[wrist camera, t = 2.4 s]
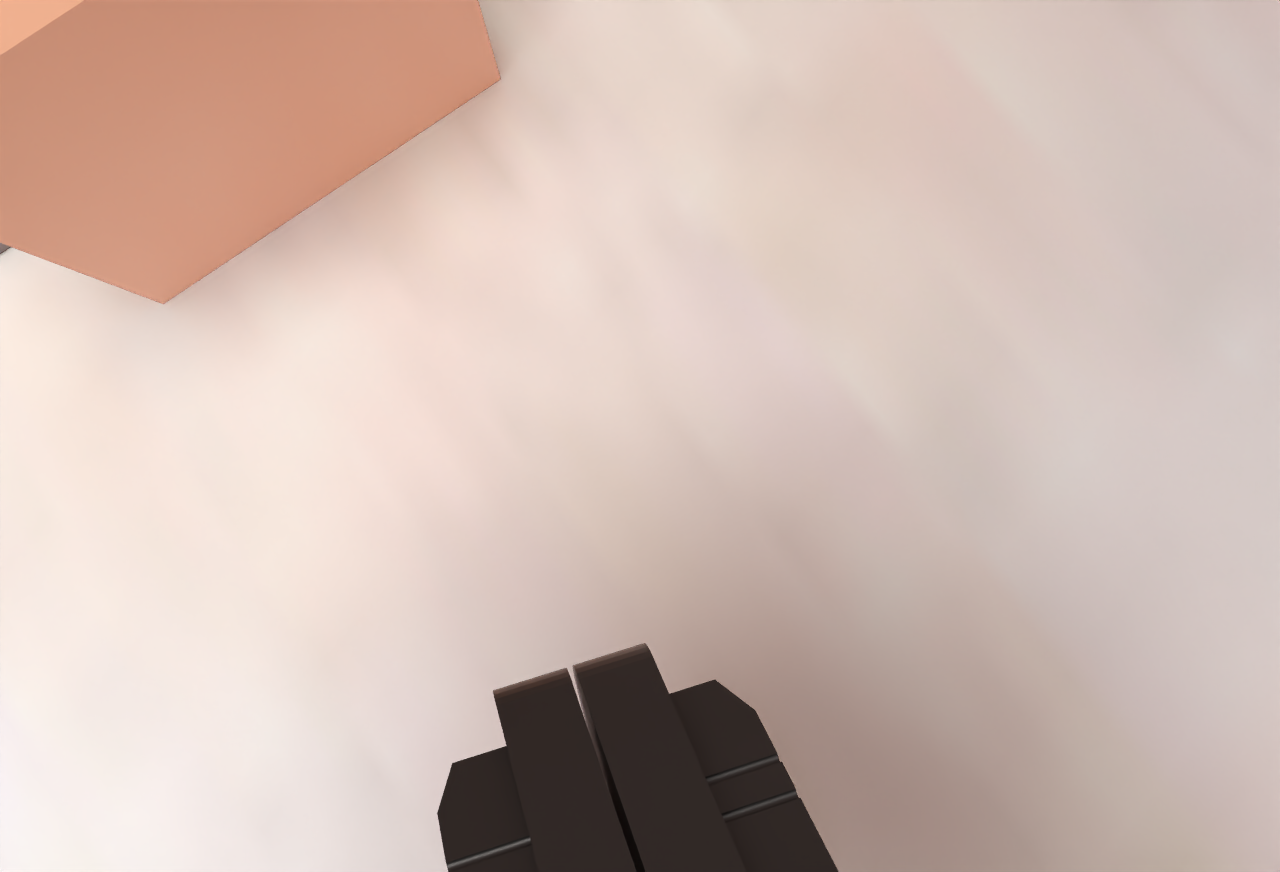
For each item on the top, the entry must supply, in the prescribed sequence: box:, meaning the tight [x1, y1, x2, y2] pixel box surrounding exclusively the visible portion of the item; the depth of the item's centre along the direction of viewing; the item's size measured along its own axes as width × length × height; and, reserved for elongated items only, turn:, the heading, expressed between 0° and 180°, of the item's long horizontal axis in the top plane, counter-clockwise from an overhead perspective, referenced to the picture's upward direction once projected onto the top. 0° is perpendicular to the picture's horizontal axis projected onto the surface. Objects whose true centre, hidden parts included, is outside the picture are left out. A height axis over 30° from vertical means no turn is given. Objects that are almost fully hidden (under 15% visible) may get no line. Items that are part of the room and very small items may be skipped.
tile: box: [0, 0, 501, 304], centre depth 24 cm, size 10×2×13 cm, turn 124°
